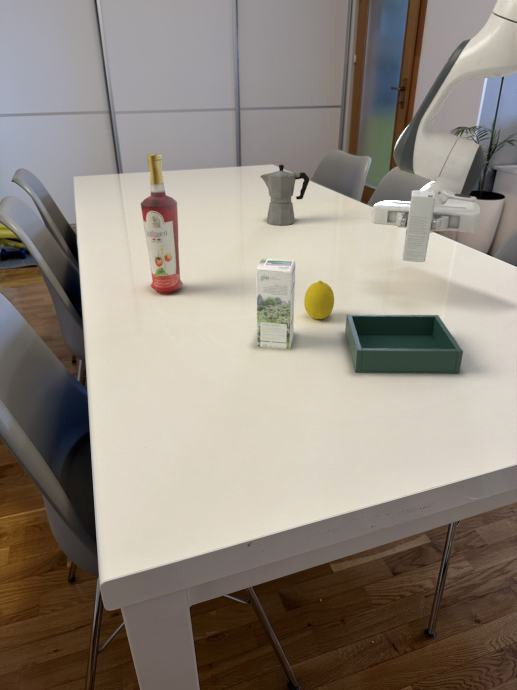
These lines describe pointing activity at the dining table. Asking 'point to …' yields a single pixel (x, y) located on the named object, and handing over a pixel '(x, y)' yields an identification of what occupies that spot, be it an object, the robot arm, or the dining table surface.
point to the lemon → (319, 300)
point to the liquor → (161, 232)
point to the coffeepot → (282, 195)
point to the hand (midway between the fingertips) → (418, 224)
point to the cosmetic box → (418, 225)
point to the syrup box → (275, 303)
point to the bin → (402, 344)
